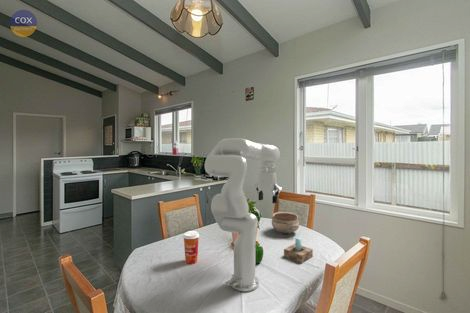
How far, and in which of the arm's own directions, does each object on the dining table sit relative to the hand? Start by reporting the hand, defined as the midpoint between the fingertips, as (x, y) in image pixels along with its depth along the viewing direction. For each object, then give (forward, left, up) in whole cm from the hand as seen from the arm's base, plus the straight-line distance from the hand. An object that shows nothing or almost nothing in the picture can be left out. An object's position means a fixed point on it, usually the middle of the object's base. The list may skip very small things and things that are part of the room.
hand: (267, 201), depth 131 cm
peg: (+12, -12, -30) cm, 35 cm away
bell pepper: (-10, 0, -31) cm, 32 cm away
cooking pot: (+37, +14, -31) cm, 50 cm away
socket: (+12, -12, -30) cm, 35 cm away
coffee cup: (-34, +23, -31) cm, 51 cm away
